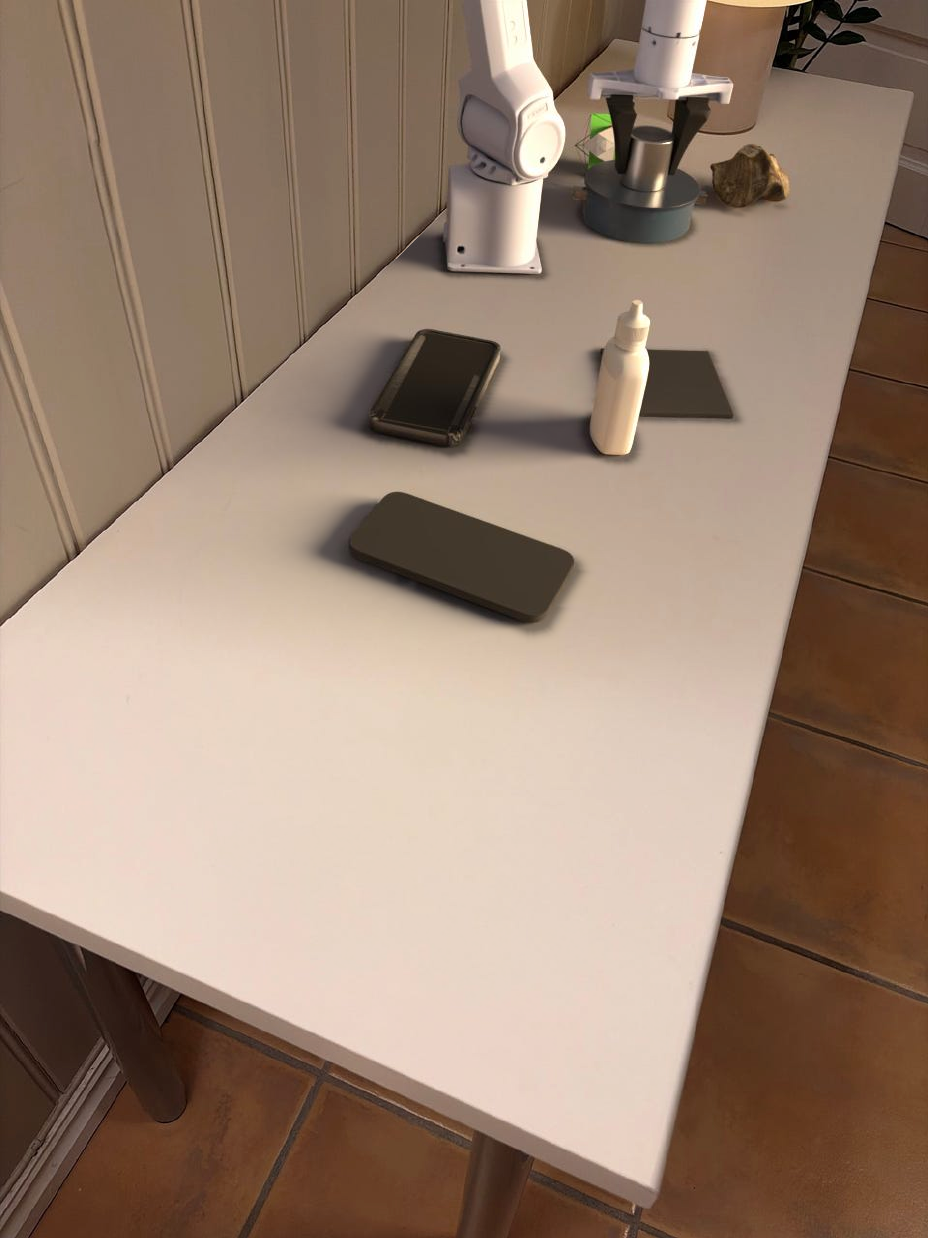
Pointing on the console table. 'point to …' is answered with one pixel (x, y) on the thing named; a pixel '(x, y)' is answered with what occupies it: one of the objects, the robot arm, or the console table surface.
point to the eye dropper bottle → (621, 383)
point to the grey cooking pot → (638, 206)
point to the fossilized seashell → (749, 178)
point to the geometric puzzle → (599, 139)
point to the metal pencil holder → (648, 158)
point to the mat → (683, 386)
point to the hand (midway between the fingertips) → (644, 170)
